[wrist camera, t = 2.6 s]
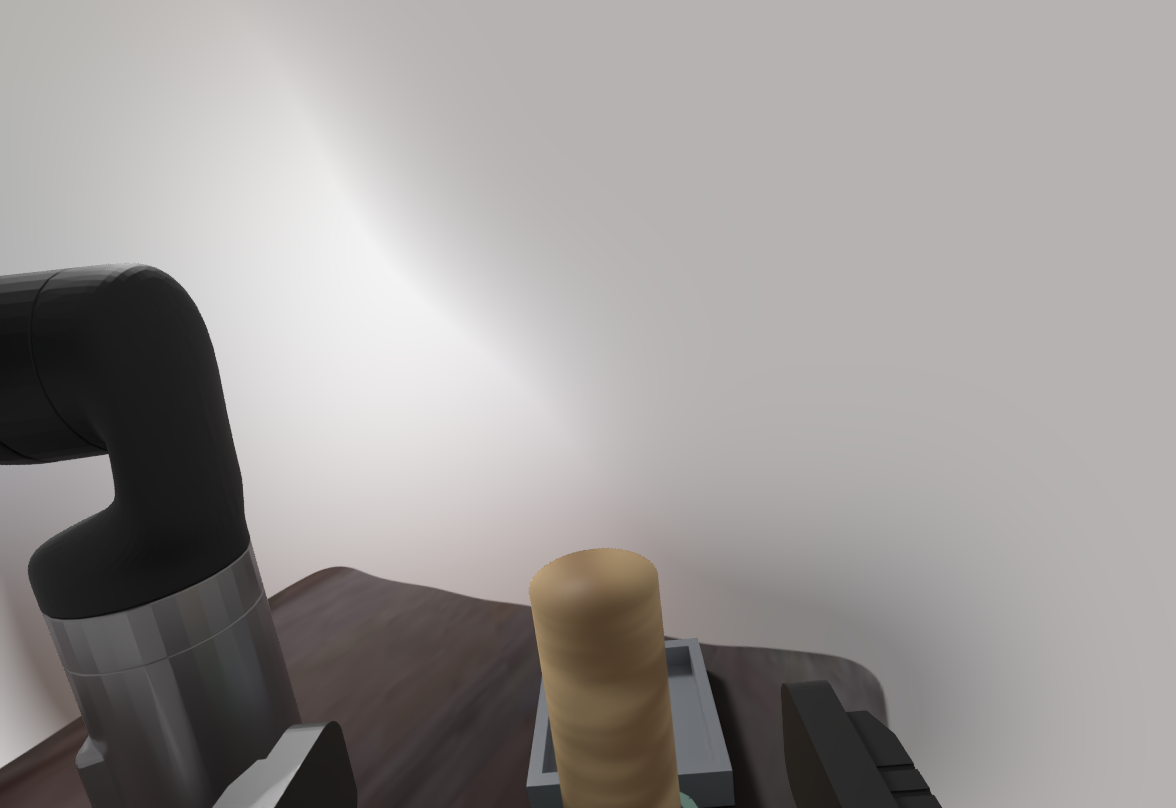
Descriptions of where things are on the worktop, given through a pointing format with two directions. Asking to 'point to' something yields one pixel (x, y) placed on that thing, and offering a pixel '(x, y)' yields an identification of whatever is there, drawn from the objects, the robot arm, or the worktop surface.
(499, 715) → the worktop surface
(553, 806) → the tray
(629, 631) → the wooden dowel
